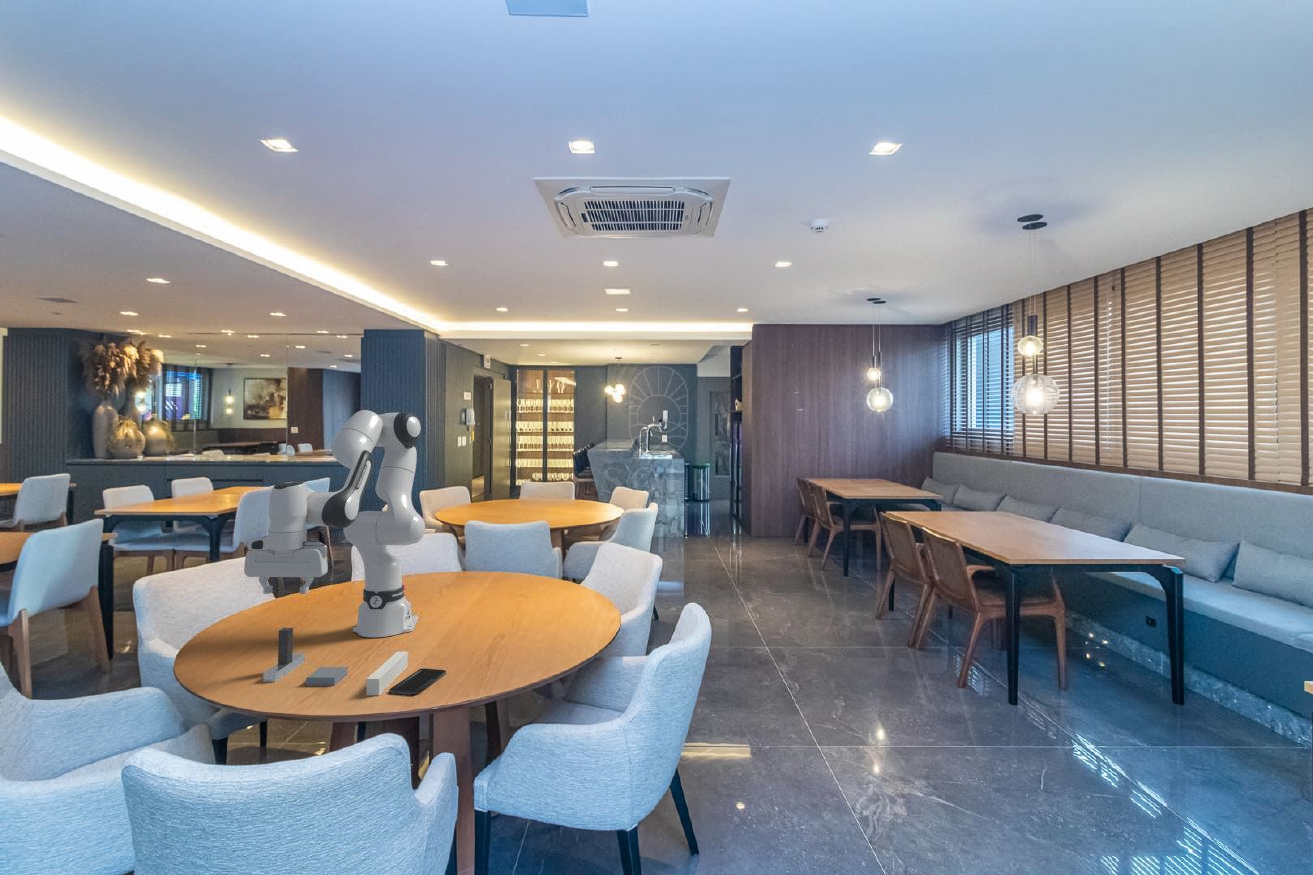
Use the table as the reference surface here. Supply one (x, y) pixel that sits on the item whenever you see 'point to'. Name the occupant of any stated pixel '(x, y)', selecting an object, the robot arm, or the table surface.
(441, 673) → the phone
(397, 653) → the bar
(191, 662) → the table surface
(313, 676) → the slate tile
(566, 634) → the table surface
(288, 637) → the upside-down t block
